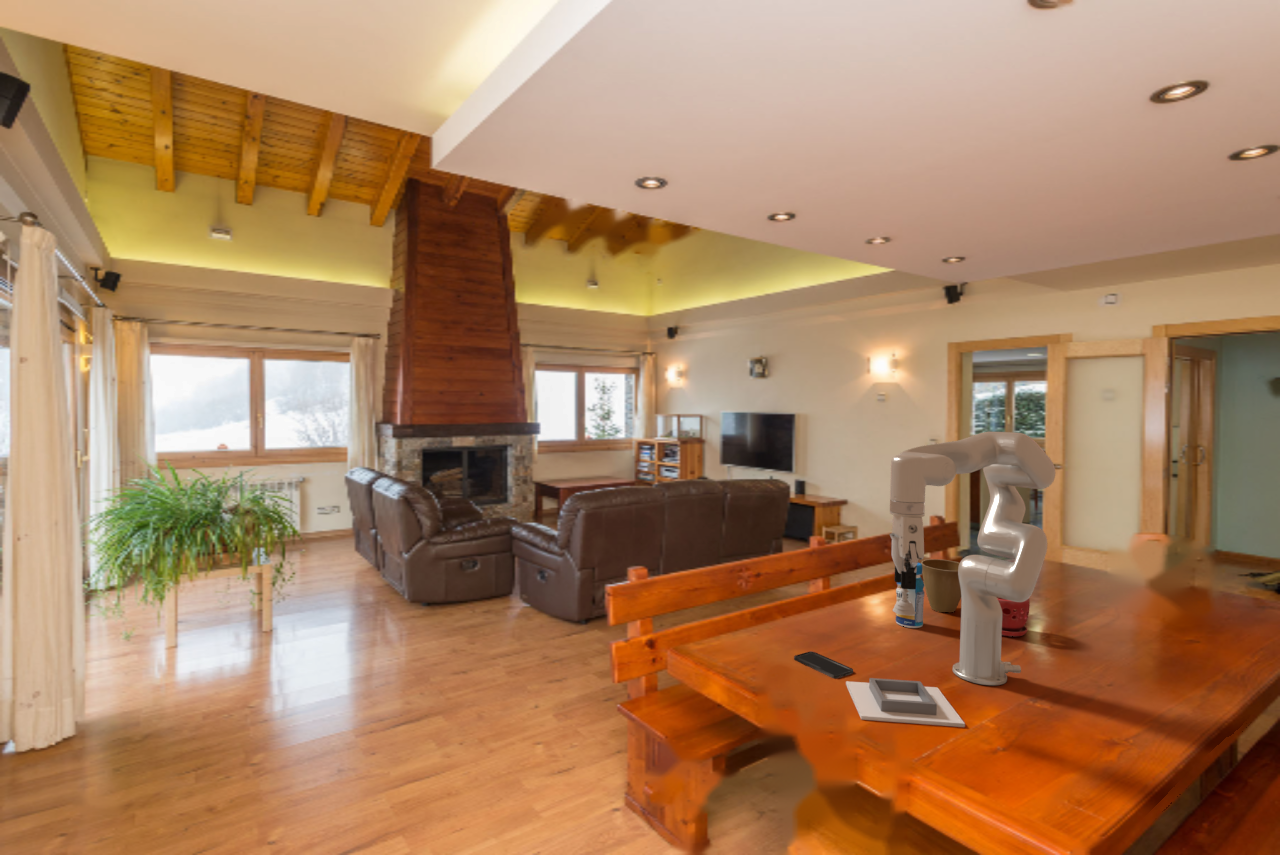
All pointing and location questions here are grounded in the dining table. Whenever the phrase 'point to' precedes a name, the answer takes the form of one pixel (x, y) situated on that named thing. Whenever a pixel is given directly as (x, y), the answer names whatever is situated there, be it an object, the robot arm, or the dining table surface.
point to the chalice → (903, 604)
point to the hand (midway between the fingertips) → (904, 584)
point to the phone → (823, 664)
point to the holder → (902, 702)
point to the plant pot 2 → (1014, 617)
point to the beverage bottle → (913, 602)
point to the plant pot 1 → (941, 584)
